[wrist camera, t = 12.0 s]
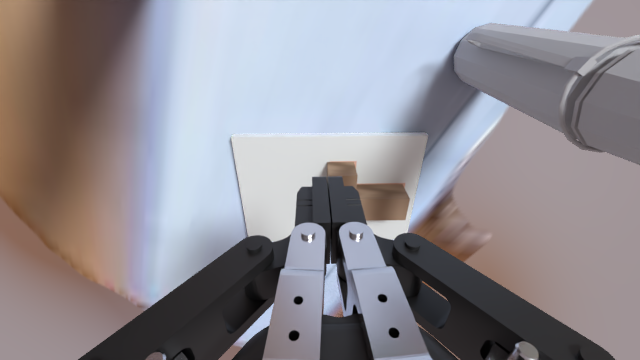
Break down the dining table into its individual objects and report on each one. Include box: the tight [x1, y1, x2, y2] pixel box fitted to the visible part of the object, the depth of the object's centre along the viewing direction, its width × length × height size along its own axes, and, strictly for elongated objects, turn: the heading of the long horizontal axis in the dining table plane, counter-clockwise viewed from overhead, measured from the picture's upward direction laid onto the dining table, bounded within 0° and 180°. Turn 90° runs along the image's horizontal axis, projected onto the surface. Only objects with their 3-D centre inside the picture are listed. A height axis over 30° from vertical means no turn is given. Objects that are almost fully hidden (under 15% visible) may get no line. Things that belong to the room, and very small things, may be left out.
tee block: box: [327, 162, 410, 221], centre depth 44 cm, size 12×12×4 cm
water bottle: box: [454, 23, 640, 165], centre depth 26 cm, size 9×8×25 cm
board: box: [231, 132, 428, 242], centre depth 46 cm, size 28×20×1 cm
